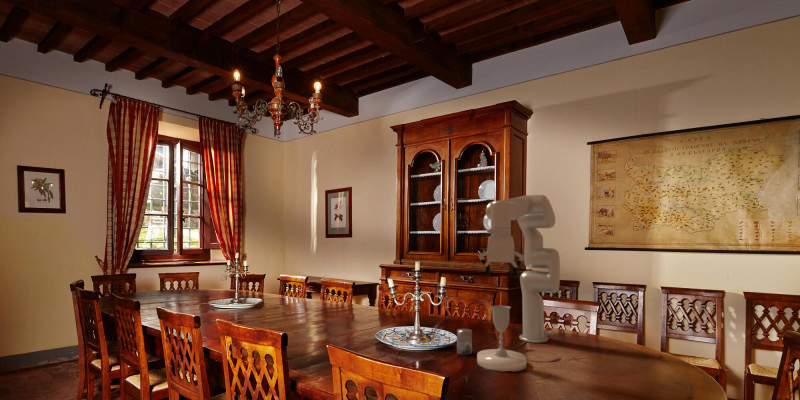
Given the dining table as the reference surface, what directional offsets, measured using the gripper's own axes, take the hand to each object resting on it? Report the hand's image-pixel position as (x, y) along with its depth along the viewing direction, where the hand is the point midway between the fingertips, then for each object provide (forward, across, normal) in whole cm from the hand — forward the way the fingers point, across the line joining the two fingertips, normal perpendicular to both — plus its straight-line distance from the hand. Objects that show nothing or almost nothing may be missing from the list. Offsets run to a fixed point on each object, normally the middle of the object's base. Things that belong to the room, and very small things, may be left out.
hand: (501, 277), depth 163 cm
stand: (+32, 0, -2) cm, 32 cm away
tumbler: (+32, -16, +8) cm, 37 cm away
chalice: (+29, 0, -1) cm, 29 cm away
